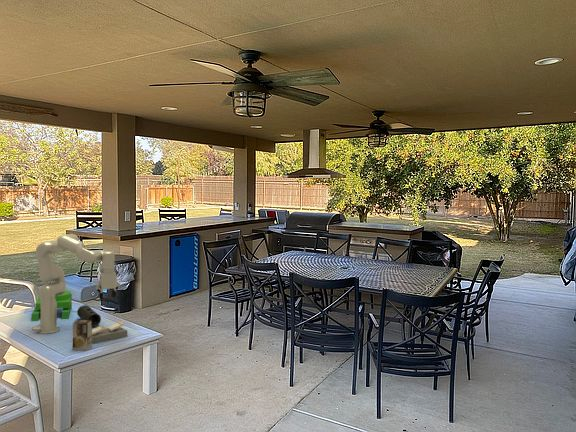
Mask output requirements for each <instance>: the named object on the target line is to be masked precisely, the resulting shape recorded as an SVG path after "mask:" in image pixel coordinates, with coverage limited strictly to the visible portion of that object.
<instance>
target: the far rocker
mask: <svg viewBox="0 0 576 432" xmlns="http://www.w3.org/2000/svg"><path fill="white" fill-rule="evenodd" d="M124 325H125V323H124V322H122V321H118V322H115V323H114V324H112V325H110V326H108V327H106V329H108V330H110V331H113V330H115V329H117V328H119V327H121V328H122V327H123V326H124Z"/></svg>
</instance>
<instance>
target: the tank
mask: <svg viewBox="0 0 576 432" xmlns="http://www.w3.org/2000/svg"><path fill="white" fill-rule="evenodd" d="M72 299H73V294H72V291H70V290H67V289H66V290H65V292H64V293H63V294H62V295H59V296H56V297H55V300H56V302H57V310H59V309H62V311H61V320H70V315H71V310H72V308H73V307H72V305H73V302H72ZM34 305H35V306H34V308H33V310H32V312H31V322H40V319H41V301H40V296H38V298H37V300H36V302H34Z"/></svg>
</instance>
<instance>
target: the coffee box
mask: <svg viewBox="0 0 576 432" xmlns="http://www.w3.org/2000/svg"><path fill="white" fill-rule="evenodd" d="M92 330H93V327H92V320H83V319H81V320H80V319H78V320H76V321H74V322H72V350H73V351H74V350H75V351H88V350H90V348H92V347H93V345H92V344H93V343H92Z"/></svg>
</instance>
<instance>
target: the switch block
mask: <svg viewBox="0 0 576 432" xmlns="http://www.w3.org/2000/svg"><path fill="white" fill-rule="evenodd" d="M126 336H127V337H128V330H127V329H126V328H123V327H122V326H121V327H119V328H117V329H115V330H113V331H110V330H108V329H107V328H106V329H104V330H102V331H100V332H98V333H96V334H93V335H92V344H93V345H95V344H99V343H103V342H107V341H113V340H117V339H123V338H126Z"/></svg>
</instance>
